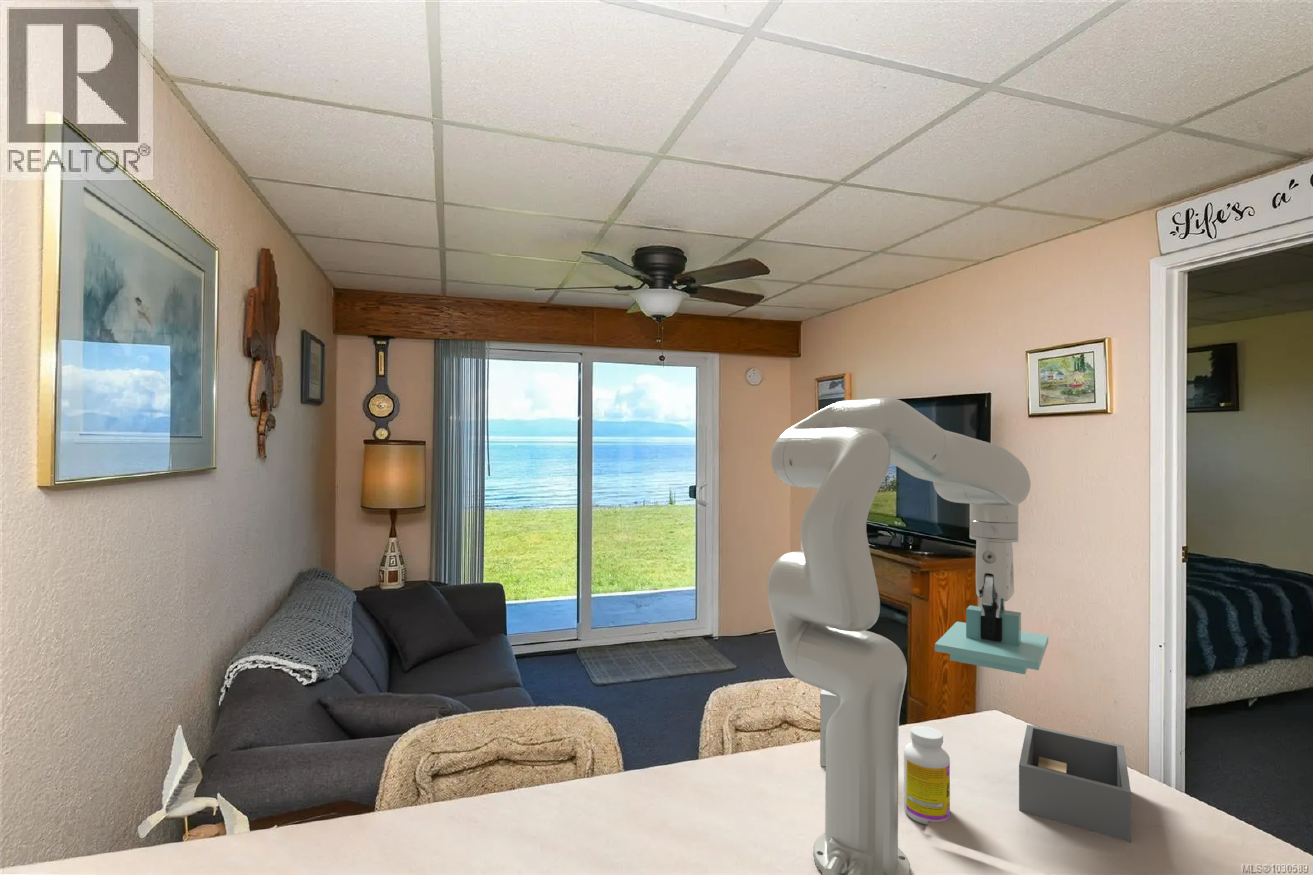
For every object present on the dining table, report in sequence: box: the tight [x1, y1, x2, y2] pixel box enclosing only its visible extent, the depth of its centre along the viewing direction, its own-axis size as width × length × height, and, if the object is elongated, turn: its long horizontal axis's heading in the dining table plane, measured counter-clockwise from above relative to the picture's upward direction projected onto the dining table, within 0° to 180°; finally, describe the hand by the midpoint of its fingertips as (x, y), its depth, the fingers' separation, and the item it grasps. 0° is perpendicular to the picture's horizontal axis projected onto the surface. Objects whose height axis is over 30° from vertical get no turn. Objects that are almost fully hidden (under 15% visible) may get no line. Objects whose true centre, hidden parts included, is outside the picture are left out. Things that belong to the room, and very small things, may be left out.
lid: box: [934, 604, 1049, 675], centre depth 109 cm, size 19×15×8 cm
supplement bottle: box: [903, 725, 951, 825], centre depth 98 cm, size 7×7×13 cm
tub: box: [1018, 724, 1132, 843], centre depth 102 cm, size 18×14×8 cm
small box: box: [819, 689, 841, 767], centre depth 116 cm, size 8×6×13 cm
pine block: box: [1038, 757, 1067, 774], centre depth 107 cm, size 4×4×3 cm
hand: (993, 636), depth 109 cm, fingers closed on lid, 3 cm apart
